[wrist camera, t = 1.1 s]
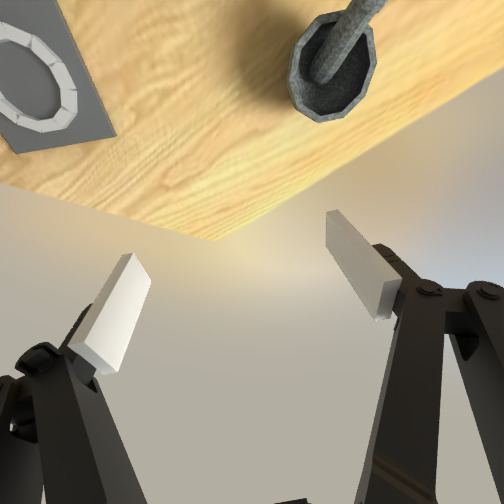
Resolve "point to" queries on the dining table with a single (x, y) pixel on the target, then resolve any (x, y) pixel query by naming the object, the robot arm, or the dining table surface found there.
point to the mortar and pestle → (333, 62)
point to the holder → (45, 81)
